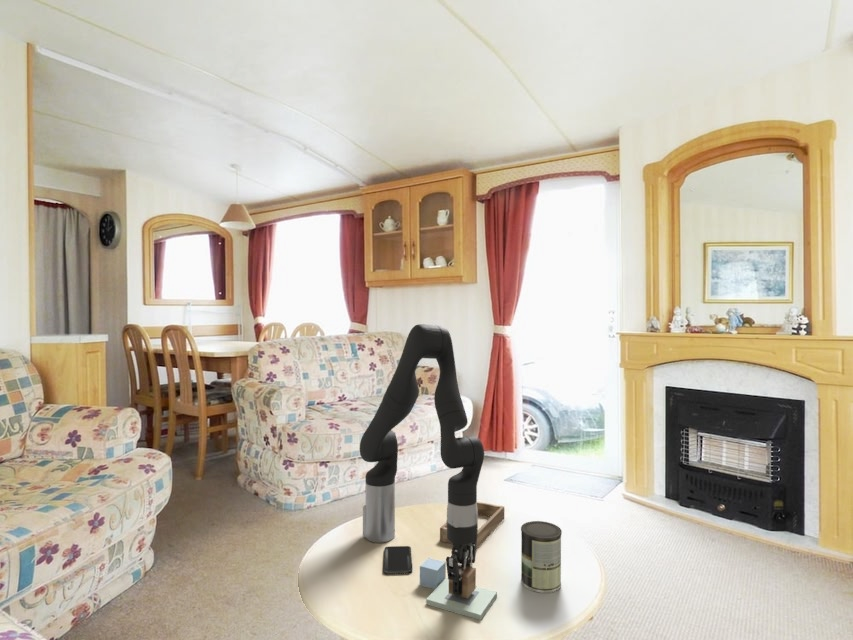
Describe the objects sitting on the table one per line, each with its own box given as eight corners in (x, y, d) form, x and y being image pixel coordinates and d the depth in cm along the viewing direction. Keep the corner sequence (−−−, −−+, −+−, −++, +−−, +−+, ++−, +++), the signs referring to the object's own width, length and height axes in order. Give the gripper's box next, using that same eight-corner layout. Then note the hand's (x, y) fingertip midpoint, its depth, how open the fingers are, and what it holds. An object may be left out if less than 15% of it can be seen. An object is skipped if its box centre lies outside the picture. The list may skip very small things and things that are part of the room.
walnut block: (448, 593, 122) (448, 572, 122) (457, 583, 127) (457, 563, 127) (467, 598, 120) (467, 577, 120) (475, 588, 124) (475, 568, 124)
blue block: (419, 585, 130) (419, 566, 130) (428, 576, 135) (428, 557, 135) (437, 590, 128) (437, 570, 128) (445, 581, 133) (445, 562, 132)
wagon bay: (440, 540, 156) (440, 527, 156) (471, 511, 179) (471, 500, 179) (476, 549, 151) (476, 535, 150) (504, 518, 174) (504, 506, 174)
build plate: (426, 604, 122) (426, 598, 122) (445, 582, 131) (445, 577, 131) (480, 620, 115) (480, 614, 115) (496, 596, 125) (496, 591, 125)
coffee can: (513, 584, 131) (513, 529, 131) (532, 568, 139) (532, 517, 139) (550, 598, 124) (550, 541, 124) (568, 581, 132) (568, 527, 132)
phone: (383, 571, 135) (384, 546, 150) (383, 576, 135) (384, 550, 150) (412, 571, 136) (411, 545, 151) (412, 575, 136) (411, 549, 151)
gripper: (459, 506, 131) (459, 572, 131) (435, 527, 119) (435, 599, 119) (487, 512, 128) (486, 579, 128) (464, 533, 115) (464, 608, 115)
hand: (462, 588), depth 123 cm, fingers closed on walnut block, 4 cm apart
